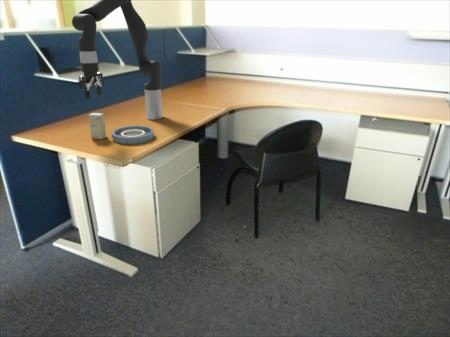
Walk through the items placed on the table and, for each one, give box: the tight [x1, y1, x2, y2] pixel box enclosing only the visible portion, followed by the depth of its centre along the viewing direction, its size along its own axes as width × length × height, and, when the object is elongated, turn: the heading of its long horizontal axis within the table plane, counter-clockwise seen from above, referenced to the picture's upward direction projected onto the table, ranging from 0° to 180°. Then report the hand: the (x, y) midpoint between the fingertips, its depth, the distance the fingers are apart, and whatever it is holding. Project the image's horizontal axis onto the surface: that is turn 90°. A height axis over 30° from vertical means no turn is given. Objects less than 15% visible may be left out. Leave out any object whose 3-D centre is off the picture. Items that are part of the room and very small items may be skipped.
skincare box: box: [88, 112, 107, 140], centre depth 171 cm, size 6×4×12 cm
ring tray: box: [111, 125, 155, 145], centre depth 173 cm, size 20×20×3 cm
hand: (93, 96), depth 165 cm, fingers open, 8 cm apart
